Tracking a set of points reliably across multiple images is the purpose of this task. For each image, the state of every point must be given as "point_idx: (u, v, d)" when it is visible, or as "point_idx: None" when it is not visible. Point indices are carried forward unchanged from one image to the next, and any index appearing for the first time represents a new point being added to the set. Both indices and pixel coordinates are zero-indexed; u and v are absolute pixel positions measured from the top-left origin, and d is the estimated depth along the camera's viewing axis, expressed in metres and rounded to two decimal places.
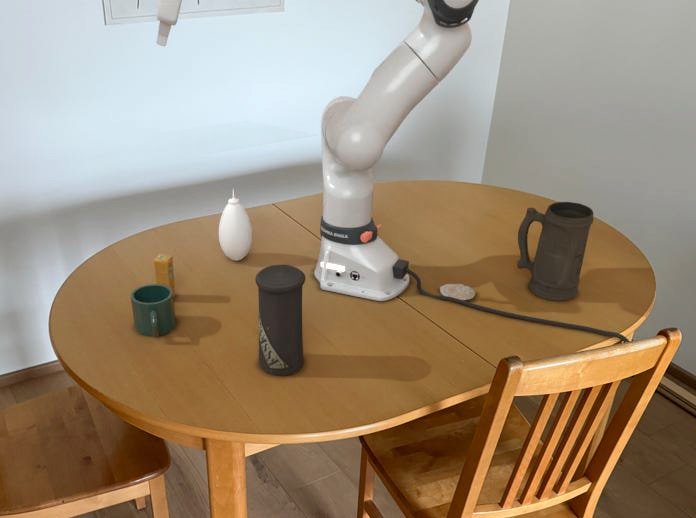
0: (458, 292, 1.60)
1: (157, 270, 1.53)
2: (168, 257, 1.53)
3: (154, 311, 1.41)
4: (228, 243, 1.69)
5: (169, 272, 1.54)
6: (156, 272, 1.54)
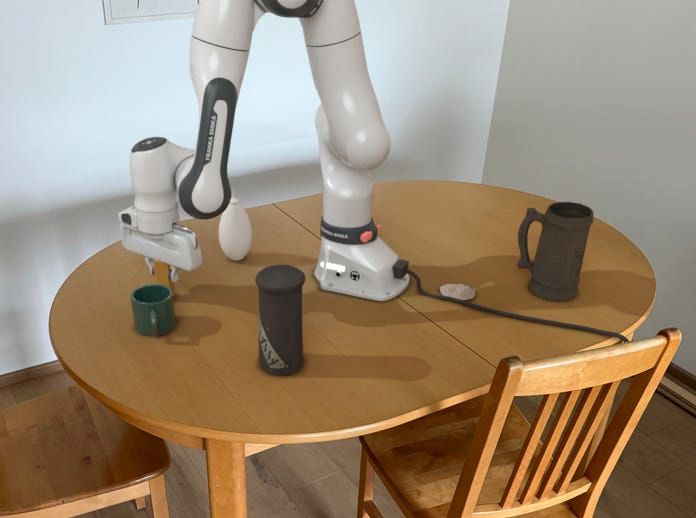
0: (458, 292, 1.60)
1: (157, 270, 1.53)
2: None
3: (154, 311, 1.41)
4: (228, 243, 1.69)
5: (169, 272, 1.54)
6: (156, 272, 1.54)
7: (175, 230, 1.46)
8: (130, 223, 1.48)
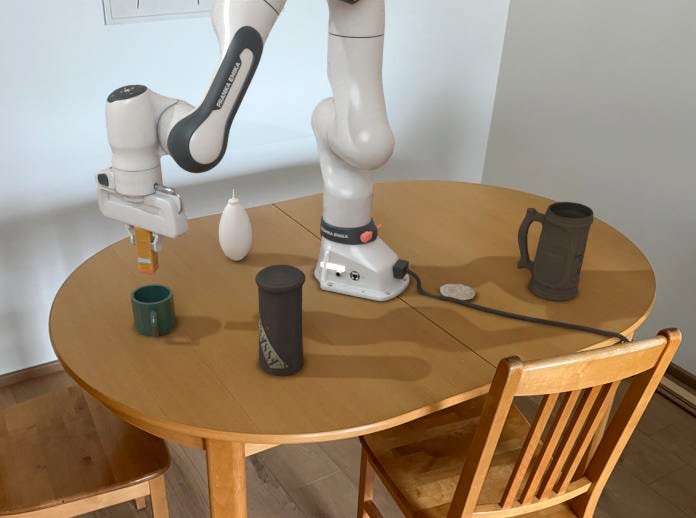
0: (458, 292, 1.60)
1: (138, 238, 1.37)
2: None
3: (154, 311, 1.41)
4: (228, 243, 1.69)
5: (151, 241, 1.38)
6: (137, 241, 1.38)
7: (157, 192, 1.30)
8: (107, 184, 1.32)
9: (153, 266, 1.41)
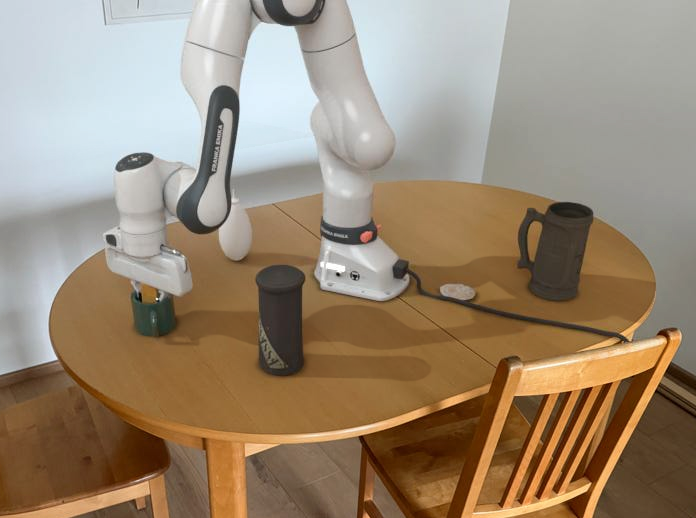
0: (458, 292, 1.60)
1: (144, 293, 1.43)
2: None
3: (154, 311, 1.41)
4: (228, 243, 1.69)
5: (157, 295, 1.44)
6: (143, 295, 1.44)
7: (163, 252, 1.36)
8: (115, 245, 1.38)
9: None
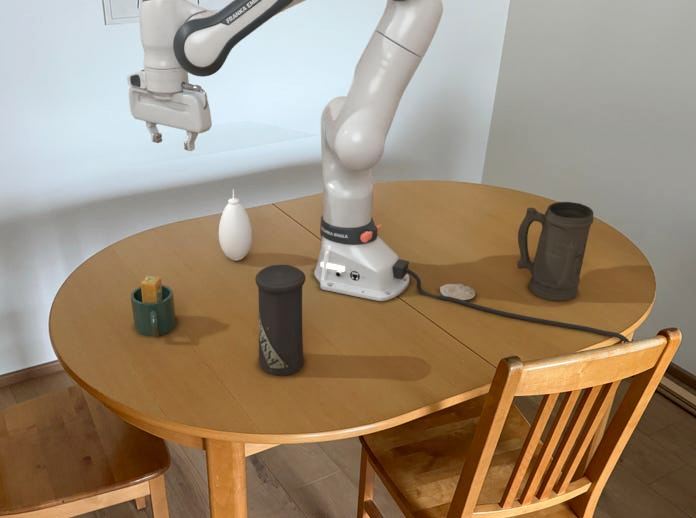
0: (458, 292, 1.60)
1: (144, 293, 1.43)
2: (156, 279, 1.43)
3: (154, 311, 1.41)
4: (228, 243, 1.69)
5: (157, 295, 1.44)
6: (143, 295, 1.44)
7: (184, 90, 1.46)
8: (139, 85, 1.48)
9: None
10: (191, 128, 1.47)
